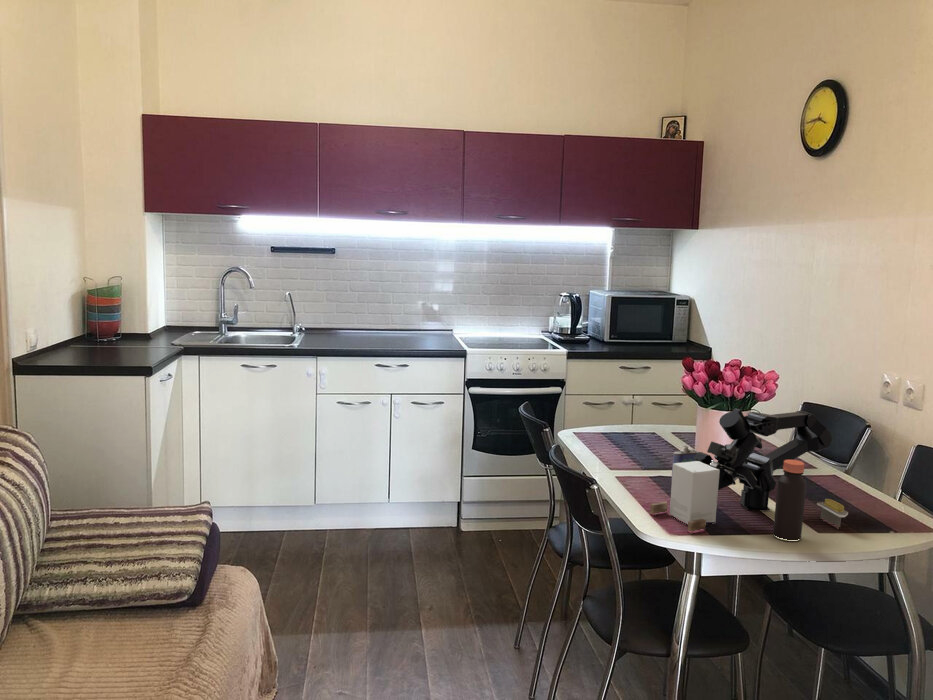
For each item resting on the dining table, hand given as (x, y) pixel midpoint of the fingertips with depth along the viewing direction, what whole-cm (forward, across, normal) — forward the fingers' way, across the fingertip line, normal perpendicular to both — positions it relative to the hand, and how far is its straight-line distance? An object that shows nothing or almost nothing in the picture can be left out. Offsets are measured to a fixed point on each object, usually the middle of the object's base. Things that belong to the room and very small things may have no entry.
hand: (706, 493), depth 216 cm
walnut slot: (+12, 0, -2) cm, 12 cm away
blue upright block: (-9, -28, +18) cm, 34 cm away
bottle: (-2, +20, +11) cm, 23 cm away
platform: (-15, +18, +25) cm, 35 cm away
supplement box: (+8, 0, +2) cm, 8 cm away
